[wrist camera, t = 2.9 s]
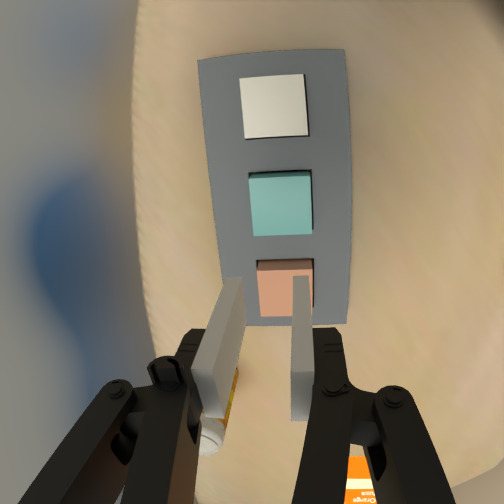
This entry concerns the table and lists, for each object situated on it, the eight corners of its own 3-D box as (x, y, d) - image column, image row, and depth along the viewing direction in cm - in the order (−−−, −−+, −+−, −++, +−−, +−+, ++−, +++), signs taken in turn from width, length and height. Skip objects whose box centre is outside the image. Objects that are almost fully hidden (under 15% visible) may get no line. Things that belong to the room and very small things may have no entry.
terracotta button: (259, 259, 38) (256, 270, 35) (311, 257, 37) (312, 269, 34) (263, 302, 40) (260, 316, 37) (311, 301, 39) (312, 315, 37)
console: (204, 64, 31) (197, 60, 29) (339, 54, 29) (343, 49, 27) (233, 312, 44) (229, 325, 41) (343, 310, 42) (346, 323, 39)
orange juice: (366, 472, 59) (371, 542, 41) (332, 471, 60) (332, 544, 42) (380, 456, 56) (389, 532, 38) (344, 455, 57) (347, 535, 38)
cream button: (243, 81, 30) (239, 78, 27) (302, 77, 29) (303, 74, 26) (248, 136, 32) (244, 138, 30) (306, 133, 31) (307, 135, 29)
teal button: (252, 173, 34) (248, 178, 31) (308, 170, 33) (310, 176, 30) (256, 226, 36) (253, 236, 34) (310, 224, 35) (312, 234, 33)
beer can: (235, 385, 50) (219, 460, 36) (199, 377, 50) (175, 449, 37) (241, 360, 47) (223, 439, 34) (202, 351, 48) (174, 427, 34)
